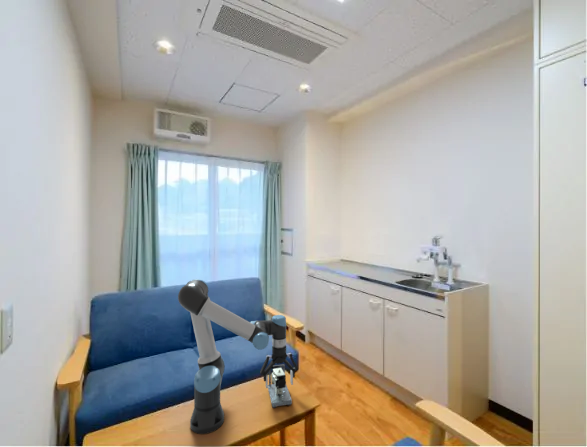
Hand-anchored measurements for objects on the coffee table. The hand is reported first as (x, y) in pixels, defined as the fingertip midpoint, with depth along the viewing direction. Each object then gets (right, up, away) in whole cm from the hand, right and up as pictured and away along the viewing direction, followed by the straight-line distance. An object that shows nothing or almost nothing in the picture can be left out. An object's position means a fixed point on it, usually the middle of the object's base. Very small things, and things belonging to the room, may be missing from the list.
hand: (279, 385), depth 147 cm
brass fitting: (-3, -7, +15) cm, 16 cm away
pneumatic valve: (-1, -4, 0) cm, 4 cm away
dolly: (0, -7, 0) cm, 7 cm away
